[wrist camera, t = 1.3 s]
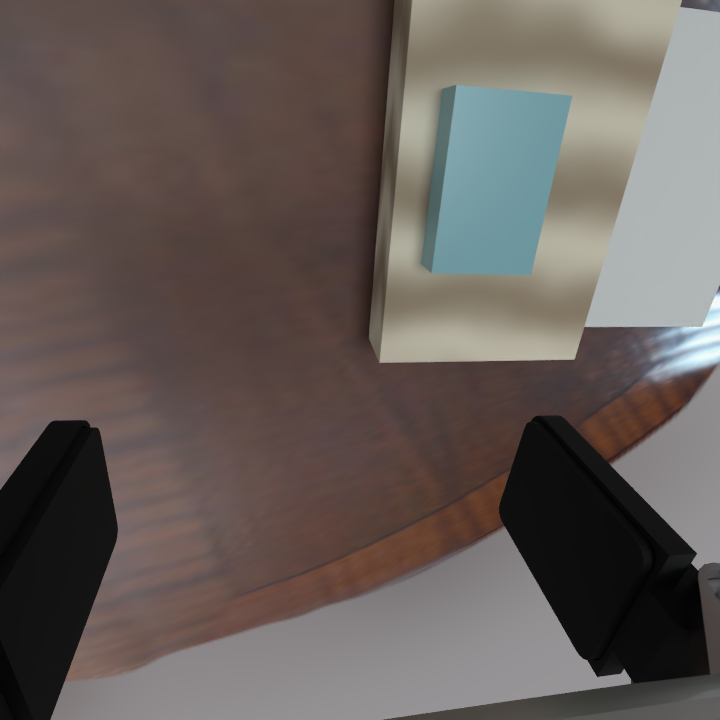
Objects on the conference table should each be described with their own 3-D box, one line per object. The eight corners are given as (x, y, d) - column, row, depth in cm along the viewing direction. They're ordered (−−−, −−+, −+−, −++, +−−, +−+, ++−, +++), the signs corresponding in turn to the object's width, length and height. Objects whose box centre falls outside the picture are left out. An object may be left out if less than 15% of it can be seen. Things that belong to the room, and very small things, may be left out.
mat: (639, 3, 26) (644, 2, 26) (821, 28, 28) (828, 27, 28) (553, 325, 35) (556, 327, 35) (697, 324, 37) (701, 326, 37)
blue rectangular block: (442, 88, 23) (456, 84, 21) (550, 98, 24) (572, 95, 22) (421, 264, 27) (431, 273, 25) (514, 266, 28) (530, 275, 26)
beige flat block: (398, -54, 23) (420, -88, 20) (637, -19, 26) (695, -44, 22) (368, 338, 33) (379, 362, 29) (544, 336, 35) (574, 359, 32)
